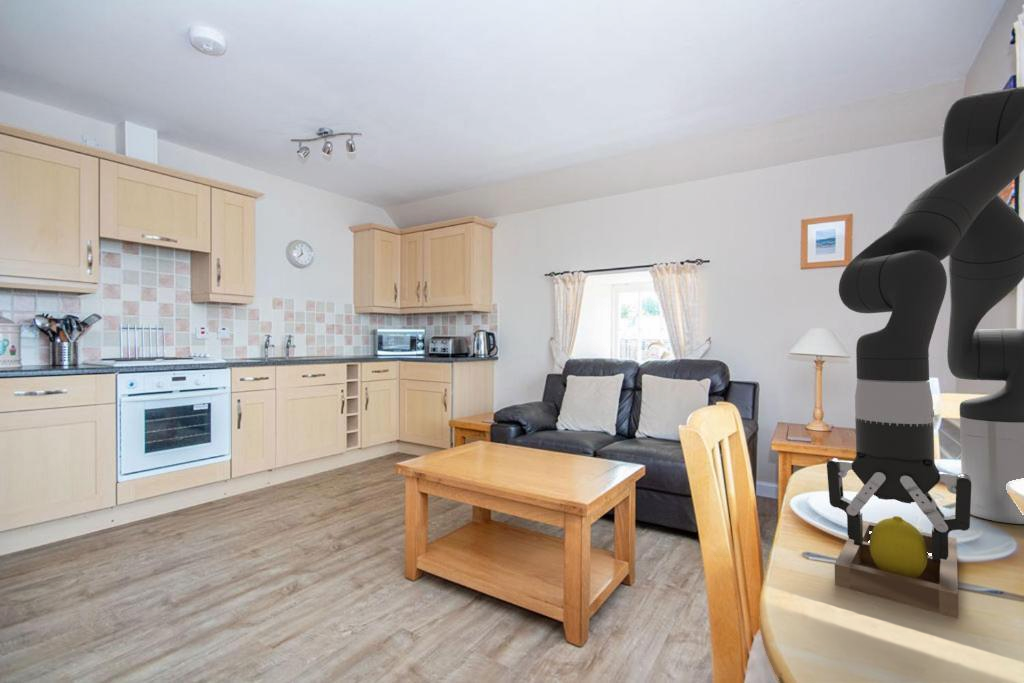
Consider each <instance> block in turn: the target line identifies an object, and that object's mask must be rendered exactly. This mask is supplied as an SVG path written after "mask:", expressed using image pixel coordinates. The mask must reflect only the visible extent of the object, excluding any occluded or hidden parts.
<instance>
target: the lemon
mask: <svg viewBox="0 0 1024 683" xmlns="http://www.w3.org/2000/svg"><path fill="white" fill-rule="evenodd" d="M876 523H877V524H876V525H875V526H874V528H873V530H872V533H871V536H870V552H871V556H872V558H873V560H874V562H875V564H876V565H877V566H878V567H879V568H880V569H881V570H882V571H885V572H889V573H893V574H897V575H902V576H906V577H910V578H916V577H918V576H919V575H921V574H922V572H923V571H924V569H925V567H926V565H927V560H928V553H927V548H926V544H925V541H924V538H923V536H922V534H921V533H920V532H919V531H918V529H916V528H917V527H916V526H914V525H913V524H912V523H910V522H908V521H906V520H904V518H902V517H901V516H897V515H896V516H895V515H893V517H890V518H889V517H888V518H885V519H882V520H880V521H879V522H876ZM915 527H916V528H915Z"/></svg>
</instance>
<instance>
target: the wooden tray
mask: <svg viewBox="0 0 1024 683" xmlns="http://www.w3.org/2000/svg"><path fill="white" fill-rule="evenodd" d="M862 523H863V543H862V545H861V546H858V545H854V540H852V539H849V537H848V538H847V540H846V542H845V544H844V545H843V548H842V549H841V551H840V553H839V555H838V557H837V558H836V560H835V562H834V586H838V587H840V588H841V587H842V588H844V589H845V588H846V589H848V590H852V591H856V592H860V593H863V594H867V595H871V596H874V597H879V598H881V599H886V600H889V601H893V602H897V603H899V604H903V605H907V606H910V607H915V608H917V609H922V610H926V611H929V612H932V613H933V612H934V613H936V614H940V615H943V616H948V617H951V618H955V619H959V585H958V583H959V582H958V548H957V546H958V545H957V543H958V542H957V538H956V537H952V536H948V551H949V553H948V558H947V559H946V560H945V559H941V564H939V563H935V562H933V558H932V556H929V555H928V560H927V565H926V567H925V569H924V571H923V572H922V574H921V575H919V576H918V577H916V578H910V577H906V576H902V575H897V574H893V573H889V572H885V571H882V570H881V569H880V568H879V567H878V566H877V565H876V564H875V562H874V560H873V558H872V556H871V552H870V543H868V541H869V540H870V536H871V534H869V531H872V530H873V528H874V526H875V525H876V524H877V523H878V522H873V521H872V522H871V521H867V520H862ZM922 536H923V538H924V541H925V544H926V548H927V552H928V553H932V532H931V533H930V532H926V531H925V532H924V531H922Z"/></svg>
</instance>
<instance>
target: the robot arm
mask: <svg viewBox="0 0 1024 683" xmlns="http://www.w3.org/2000/svg"><path fill="white" fill-rule="evenodd" d="M941 149H942V150H941V151H942V160H943V166H944V167H943V169H944V176H943V177H941V178H940V179H938V180H936V181H934V182H933V183H931V184H930V185H928V186H927V187H925V188H924V189H923V190H922V191H920V192H919V193H918V194H917V195H916V196H915V197H914V198H913V199H912V200H911V201H910V203H909V204H908V205H907V207H906V208H905V209H904V211H903V212H902V213H901V215H900V216H899V217H898V219H897V220H896V221H895V222H894V224H893V226H892V227H891V228H890V230H888V231H887V232H885V233H884V234H882V235H881V236H879V237H878V238H876V239H875V240H874V241H873V242H872V243H871V244H869V245H868V246H867V247H866V248H865V249H863V250H862V251H861V252H859V253H858V254H857V255H856V256H855V257H854V258H853V259H851V261H850V262H849V263H848V264H847V265H846V266H845V268H844V270H843V271H842V274H841V277H840V278H839V283H838V294H839V298H840V300H841V302H842V304H843V305H844V306H845V307H846V308H847V309H849V310H850V311H852V312H855V313H859V314H880V313H882V314H883V313H890V312H891V314H890V317H889V320H888V321H887V323H886V325H885V327H884V328H882V329H879V330H876V331H872V332H868V333H864V334H863V335H861V336H860V337H859V338H858V339H857V341H856V347H855V348H856V351H855V353H856V357H855V358H856V360H855V361H856V364H855V365H856V389H855V394H854V409H855V411H854V412H855V413H854V414H855V418H854V420H855V452H856V454H855V457H854V459H853V461H851V460H842V459H841V460H840V459H839V458H838V457H832V458H831V459H830V460H828V461H827V463H826V473H827V484H828V485H827V486H828V487H827V488H828V497H829V504H830V506H831V507H833V508H838V509H839V510H842V511H844V512H845V514H846V518H847V519H846V523H847V524H846V526H847V530H846V531H847V536H848V538H849V539H852V540H854V545H858V546H861V545H862V543H863V523H862V521H863V513H862V512H861V510H862V509H863V508H864V506H865V505H866V504H867V503H869V501H870V499H871V498H872V497H873V496H874V497H877V499H880V500H885V501H887V500H894V501H897V502H900V503H905V504H911V503H915V504H916V505H917V507H919V510H920V511H921V512H922V513H923V514H924V515H925V516H926V517H927V519H928V520H929V522H930V523H931V524H932V527H931V534H932V558H933V562H935V563H939V564H941V559H945V560H946V559H947V558H948V553H949V551H948V537H949V533H950V532H952V531H959V530H960V531H964V532H965V531H968V530H970V527H971V516H974V517H977V518H981V519H984V520H989V521H994V522H999V523H1005V524H1015V525H1024V515H1022V513H1021V512H1020V510H1019V509H1018V507H1017V506H1016V504H1015V503H1014V502H1013V500H1012V499H1011V498H1010V496H1009V495H1008V493H1007V490H1006V484H1007V483H1008V482H1009V481H1012V480H1016V479H1021V478H1024V329H1022V328H991V329H990V328H985V329H983V328H981V329H977V327H978V326H979V324H980V322H981V321H982V319H983V318H984V317H985V316H986V314H987V313H988V312H989V311H990V310H991V309H993V308H994V307H995V306H996V305H997V304H999V303H1000V302H1001V301H1003V299H1004V298H1005V297H1007V296H1008V295H1009V294H1010V293H1011V292H1012V291H1014V289H1015V288H1016V287H1017V286H1018V285H1019V284H1020V283H1021V282H1022V281H1023V280H1024V220H1023V219H1022V217H1021V216H1019V214H1018V213H1017V212H1016V211H1015V210H1014V209H1013V208H1012V207H1011V206H1010V205H1009V204H1008V203H1007V202H1006V201H1005V200H1004V199H1003V197H1001V196H1000V195H999V194H1000V193H1001V192H1002V191H1003V190H1004V189H1005V188H1006V187H1008V186H1009V185H1010V184H1011V183H1012V182H1013V181H1014V180H1015V179H1016V178H1017V177H1018V176H1019V175H1020V174H1021V173H1022V172H1024V86H1017V87H1012V88H1004V89H999V90H994V91H992V90H991V91H985V92H979V93H974V94H970V95H966V96H961V97H960V98H958V99H956V100H955V101H954V102H953V103H952V104H951V105H950V107H949V108H948V110H947V112H946V114H945V117H944V120H943V125H942V133H941ZM947 257H948V276H947V272H946V270H945V266H944V265H943V264H942V262H941V261H943V260H944V259H946V258H947ZM947 277H948V278H949V279H948V278H947ZM948 281H949V294H950V295H949V296H950V309H949V310H950V312H949V313H950V314H949V324H948V325H949V326H948V336H947V338H948V340H947V351H946V352H947V353H946V354H947V355H946V356H947V357H946V358H947V365H948V368H949V371H950V373H951V375H952V376H954V377H955V378H956V379H957V378H958V379H962V380H967V381H968V380H969V381H1001V382H1002V381H1005V385H1004V386H1003V387H1002V388H1001V389H999V390H997V391H995V392H992V393H989V394H987V395H984V396H979V397H974V398H969V399H965V400H963V401H961V402H960V403H959V429H960V430H959V432H960V435H959V436H960V465H961V466H960V467H961V468H960V470H961V471H960V472H961V473H959V474H954V473H950V472H948V473H947V472H941V471H940V470H939V469H938V467H937V466H936V463H935V440H934V439H935V437H934V436H935V434H934V432H935V431H934V418H935V410H934V401H933V400H934V399H933V394H932V390H931V383H930V361H929V360H930V359H929V358H930V357H929V356H930V353H929V349H930V344H931V340H932V337H933V334H934V330H935V328H936V327H935V326H936V322H937V320H938V317H939V313H940V311H941V308H942V305H943V302H944V299H945V295H946V291H947V285H948ZM851 470H852V471H853V472H854V474H855V475H856V476H857V477H858V479H859V480H860V481H861V483H862V484H863V486H862V487H861V488H860V489H859V491H858V492H857V493H856V495H855V496H854V497H853V499H848V498H846V497H845V496H844V486H843V478H846V477H847V476H848V474H849V471H851ZM939 482H941V483H943V484H944V485H945V486H946V490H947V491H948V492H949V493H950V494H954V495H955V505H954V509H955V510H954V515H949V516H947V515H944V512H942V510H941V509H940V508H939V506H938V504H937V503H936V501H935V499H934V498H933V496H932V495H931V494H930V493H929V492H930V491H931V490H932V489H933V488H935V486H937V484H939Z"/></svg>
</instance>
